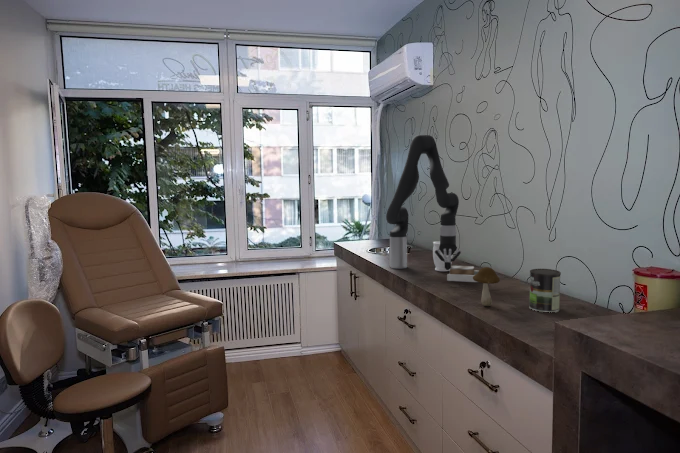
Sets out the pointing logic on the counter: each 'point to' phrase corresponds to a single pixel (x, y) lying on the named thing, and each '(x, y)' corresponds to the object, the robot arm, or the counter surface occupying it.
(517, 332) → the counter surface
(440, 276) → the counter surface
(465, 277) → the bay
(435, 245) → the jar
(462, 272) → the brown and white block
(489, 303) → the mushroom
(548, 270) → the coffee can
